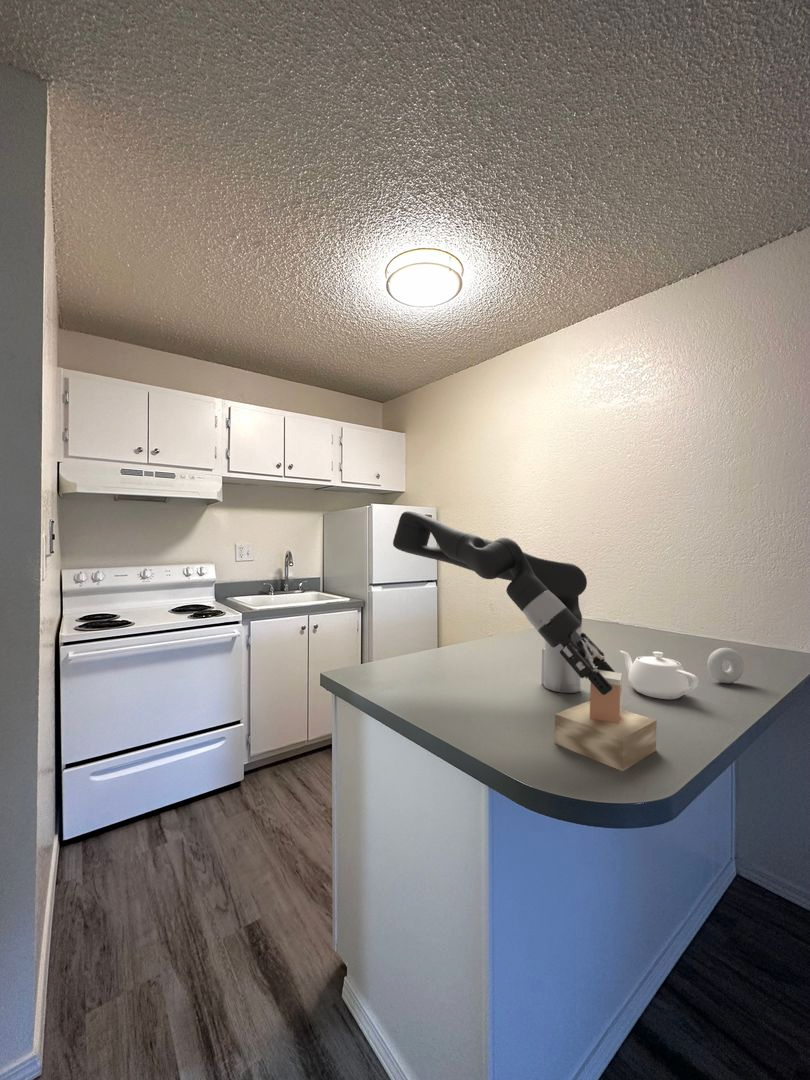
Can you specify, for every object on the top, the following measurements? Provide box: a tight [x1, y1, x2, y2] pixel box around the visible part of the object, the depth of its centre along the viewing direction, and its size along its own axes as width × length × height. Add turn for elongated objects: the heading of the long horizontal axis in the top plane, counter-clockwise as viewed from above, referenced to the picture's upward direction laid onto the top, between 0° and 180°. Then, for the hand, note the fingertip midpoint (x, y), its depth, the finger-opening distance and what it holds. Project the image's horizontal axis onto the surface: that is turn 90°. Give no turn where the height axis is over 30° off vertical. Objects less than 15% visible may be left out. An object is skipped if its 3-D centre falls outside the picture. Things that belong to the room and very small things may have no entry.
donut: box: [706, 647, 746, 684], centre depth 127 cm, size 10×4×10 cm, turn 92°
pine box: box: [554, 700, 658, 772], centre depth 85 cm, size 13×13×6 cm
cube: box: [589, 670, 623, 724], centre depth 85 cm, size 5×5×8 cm
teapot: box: [619, 650, 699, 700], centre depth 118 cm, size 22×14×11 cm, turn 24°
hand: (611, 685), depth 85 cm, fingers open, 8 cm apart
